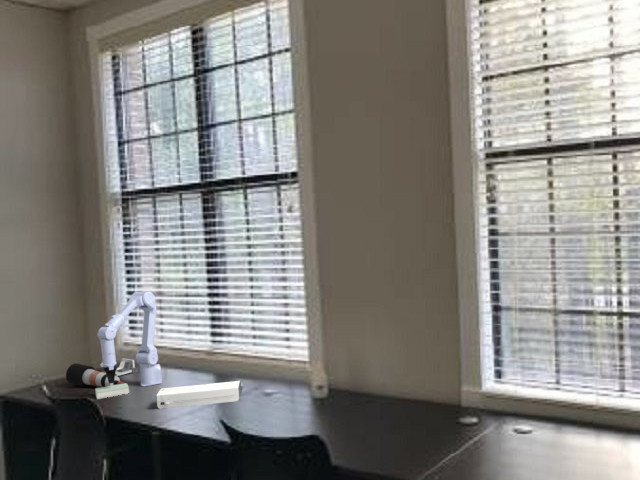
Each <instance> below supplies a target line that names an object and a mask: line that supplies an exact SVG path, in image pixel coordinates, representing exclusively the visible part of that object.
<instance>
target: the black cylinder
mask: <svg viewBox="0 0 640 480" xmlns="http://www.w3.org/2000/svg"><path fill="white" fill-rule="evenodd" d="M65 378H66V381H67V383H69V384H72V385H75V386H76V385H77V386H80V387H85V388H87V387H91V386H94V387H97V388H100V387H106V386H112V385H118V384H124V383H125V382H124V381H121V380H120V377H119V376H115V380H114V383H110V384H109V381H108V378H107V375H106V373H104V371H103V372H101V371H99V370H96V368H95V367H94V366H90V365H87V364H81V363H76V362H75V363H72V364H71V365H69V366H68V368H67V369H66V372H65Z"/></svg>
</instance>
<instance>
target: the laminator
mask: <svg viewBox="0 0 640 480" xmlns="http://www.w3.org/2000/svg"><path fill="white" fill-rule="evenodd" d="M241 394H242V382H241V380H236V381H235V380H234V381H224V382H216V383H215V382H213V383H205V384H194V385H184V386H183V385H182V386H175V387H174V386H172V387H164V388H159V390H158V392H157V393H156V395H155V400H156V407H157V409H158V410H161V409H162V410H163V409H164V410H165V409H170V408H171V409H172V408H183V407H190V406H191V407H192V406H201V405H211V404H222V403H231V402H232V403H233V402H239V401H241Z"/></svg>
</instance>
